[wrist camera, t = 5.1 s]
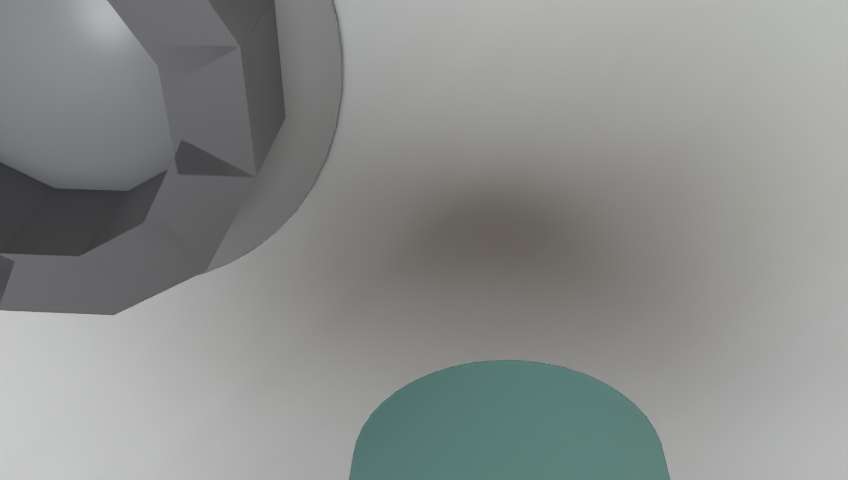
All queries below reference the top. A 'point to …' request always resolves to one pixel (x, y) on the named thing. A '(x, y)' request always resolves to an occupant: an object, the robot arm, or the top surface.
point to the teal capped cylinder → (508, 428)
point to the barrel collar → (154, 140)
